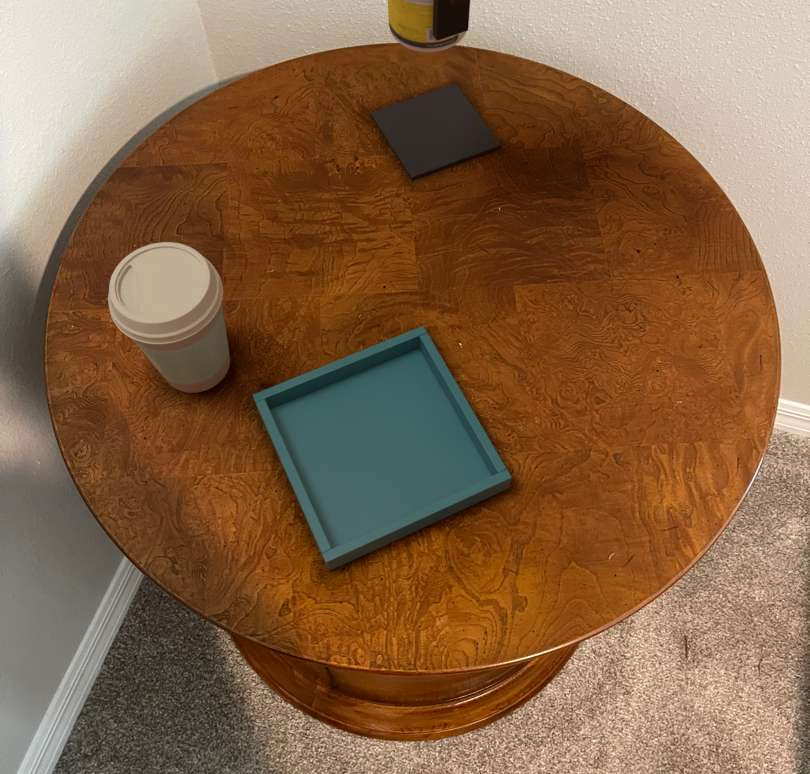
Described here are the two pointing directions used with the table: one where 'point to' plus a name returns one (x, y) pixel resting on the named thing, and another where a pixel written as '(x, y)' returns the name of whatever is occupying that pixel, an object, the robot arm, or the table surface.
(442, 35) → the robot arm
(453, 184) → the table surface
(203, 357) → the coffee cup
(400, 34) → the pill bottle
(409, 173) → the mat
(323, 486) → the tray
